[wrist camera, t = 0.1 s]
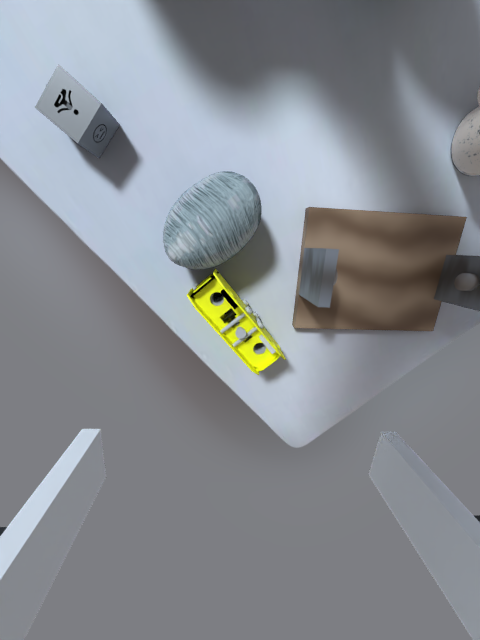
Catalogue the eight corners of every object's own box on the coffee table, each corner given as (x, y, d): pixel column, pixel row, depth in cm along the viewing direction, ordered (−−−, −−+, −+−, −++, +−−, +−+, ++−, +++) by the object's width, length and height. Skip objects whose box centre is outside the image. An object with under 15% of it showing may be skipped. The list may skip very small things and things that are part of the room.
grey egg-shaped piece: (239, 151, 31) (213, 142, 22) (281, 216, 33) (272, 230, 25) (171, 220, 37) (132, 232, 29) (211, 270, 40) (185, 295, 31)
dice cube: (84, 92, 30) (58, 64, 25) (120, 125, 31) (101, 103, 26) (63, 128, 31) (34, 107, 26) (99, 158, 32) (77, 143, 27)
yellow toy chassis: (278, 339, 42) (291, 362, 34) (252, 359, 42) (259, 385, 34) (218, 265, 37) (216, 271, 29) (190, 289, 38) (181, 300, 30)
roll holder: (305, 208, 36) (334, 196, 26) (457, 218, 37) (532, 209, 28) (292, 325, 41) (312, 347, 32) (425, 328, 43) (480, 350, 34)
